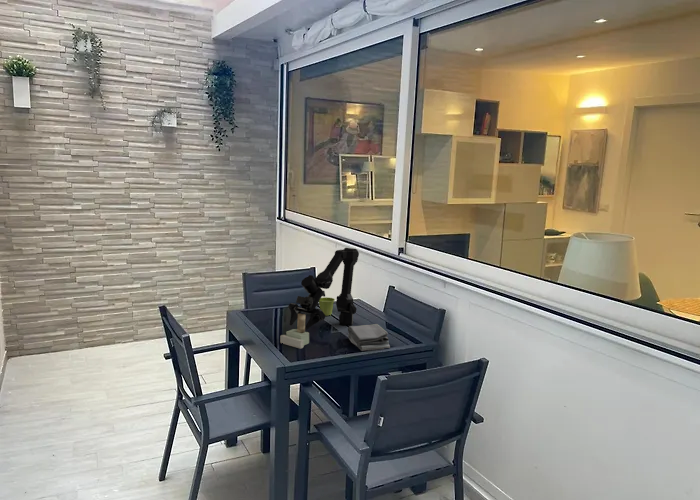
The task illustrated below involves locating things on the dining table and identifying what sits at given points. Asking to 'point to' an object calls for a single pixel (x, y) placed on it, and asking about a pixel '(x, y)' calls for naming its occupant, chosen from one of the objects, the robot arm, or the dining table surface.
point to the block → (299, 335)
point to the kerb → (291, 341)
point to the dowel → (301, 323)
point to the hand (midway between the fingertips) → (297, 327)
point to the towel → (368, 337)
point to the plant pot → (326, 305)
